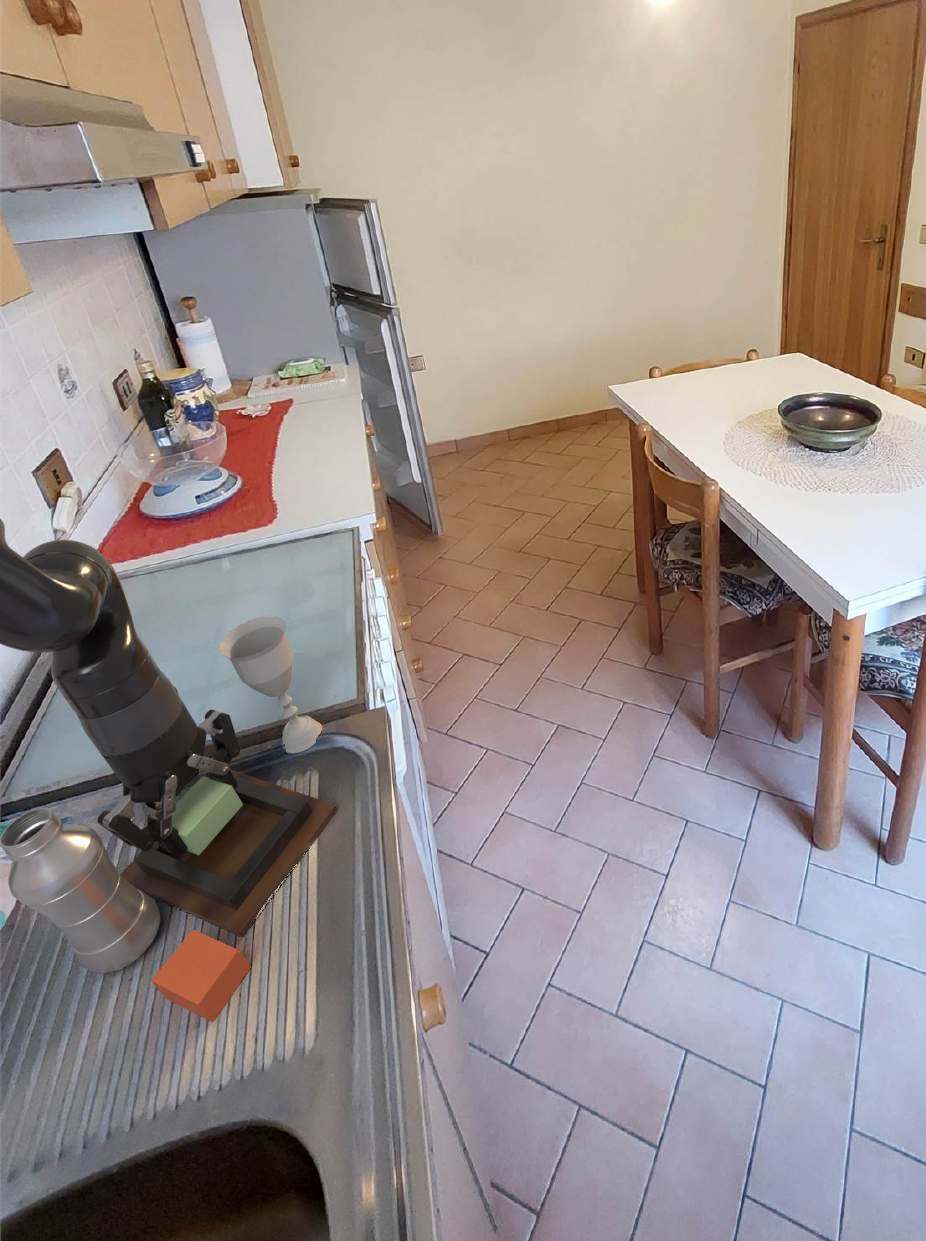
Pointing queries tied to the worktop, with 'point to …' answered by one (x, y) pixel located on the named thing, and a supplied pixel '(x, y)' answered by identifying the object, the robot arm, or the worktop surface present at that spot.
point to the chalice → (270, 673)
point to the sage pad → (204, 813)
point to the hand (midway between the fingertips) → (205, 820)
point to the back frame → (236, 857)
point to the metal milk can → (79, 890)
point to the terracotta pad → (201, 975)
